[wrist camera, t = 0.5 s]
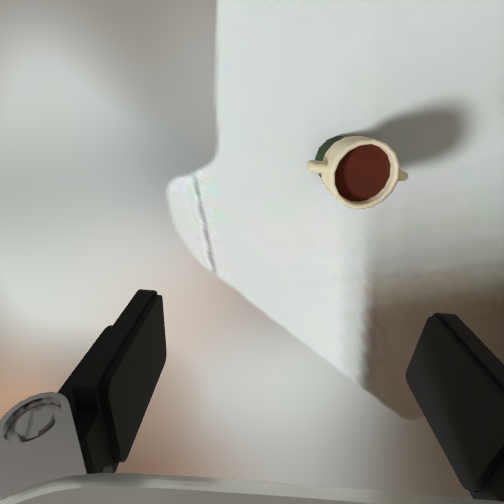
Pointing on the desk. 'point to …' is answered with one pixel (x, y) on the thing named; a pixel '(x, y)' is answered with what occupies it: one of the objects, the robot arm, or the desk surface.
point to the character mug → (357, 170)
